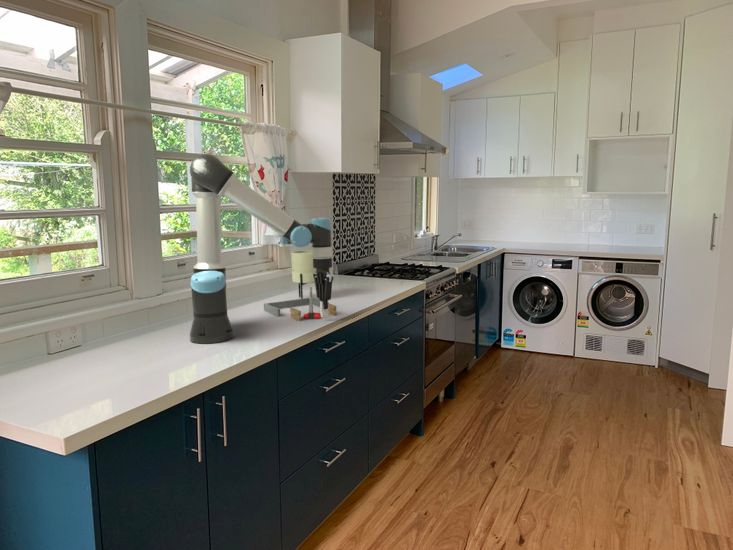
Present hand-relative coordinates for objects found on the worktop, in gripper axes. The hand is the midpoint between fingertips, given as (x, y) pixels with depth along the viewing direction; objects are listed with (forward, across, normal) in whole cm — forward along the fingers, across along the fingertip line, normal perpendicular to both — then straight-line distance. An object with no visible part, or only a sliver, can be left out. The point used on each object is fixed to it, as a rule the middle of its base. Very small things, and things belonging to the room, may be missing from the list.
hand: (324, 316), depth 224 cm
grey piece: (+2, +27, 0) cm, 27 cm away
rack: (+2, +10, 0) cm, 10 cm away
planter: (+2, +46, -15) cm, 48 cm away
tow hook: (+2, +10, 0) cm, 10 cm away
